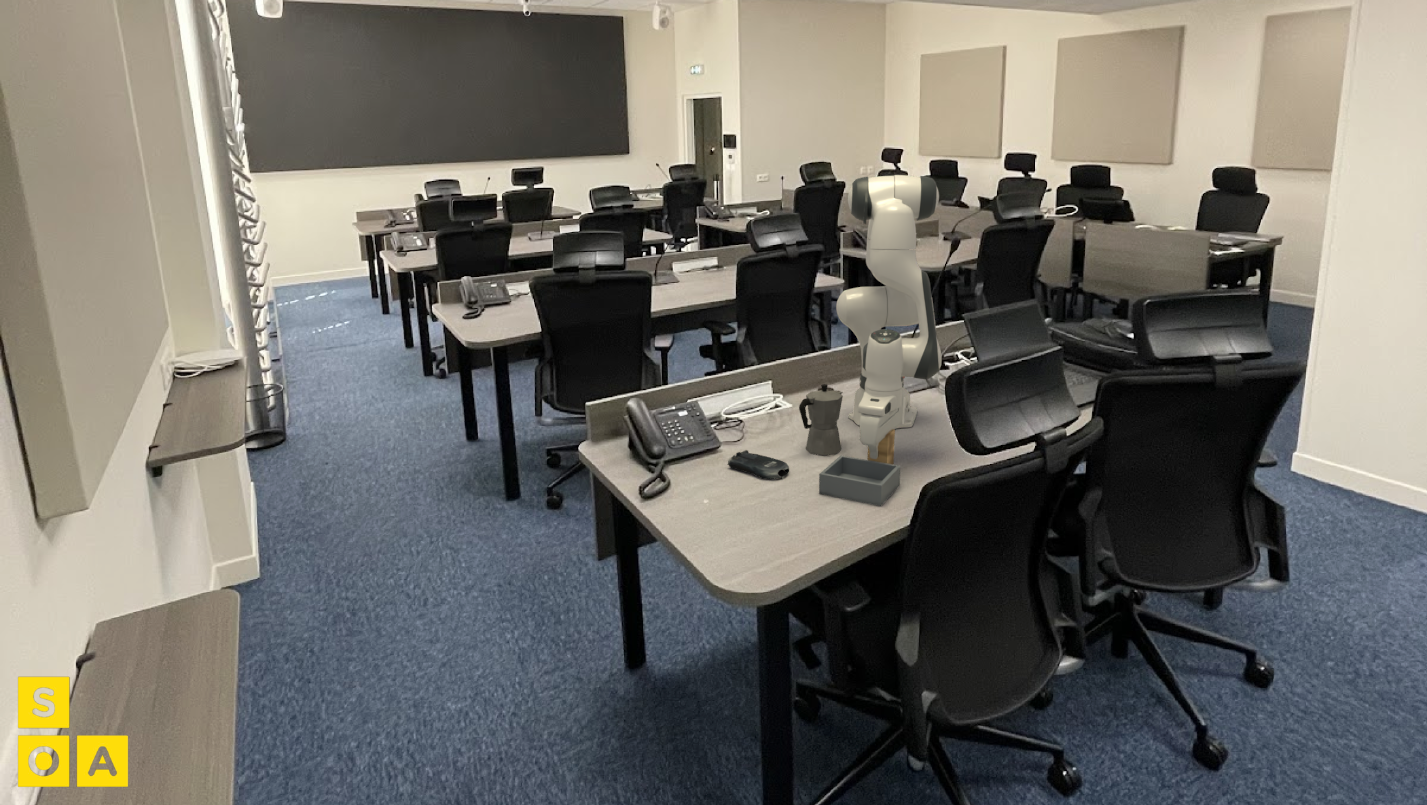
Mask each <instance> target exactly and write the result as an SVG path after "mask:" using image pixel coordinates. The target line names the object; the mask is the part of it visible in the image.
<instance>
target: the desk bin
mask: <svg viewBox="0 0 1427 805" xmlns="http://www.w3.org/2000/svg"><path fill="white" fill-rule="evenodd" d="M818 476H819V478H818V481H819V482H818V494H819V495H824V496H828V497H834V498H839V499H843V500H847V501H848V500H849V501H853V502H858V503H863V504H868V505H874V506H878V507H882V506H883V505H884V504H885V502H886V501H887V500H888V499H889V498H890V497H891V496H892V495H893V493H895V491H896V490H897V489H898V488H899V487H900V485H901V484H900V483H901V465H897V464H888V463H882V462H876V461H871V460H867V459H864V458H859V457H852V456H847V455H843V454H841V455H839V456H838V457H837V458H836V459H834V461H832V462H831V463H830V464H829V465H828V466H826V467H825V468H824V469H823V470H822V471H820V472H819V475H818Z"/></svg>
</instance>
